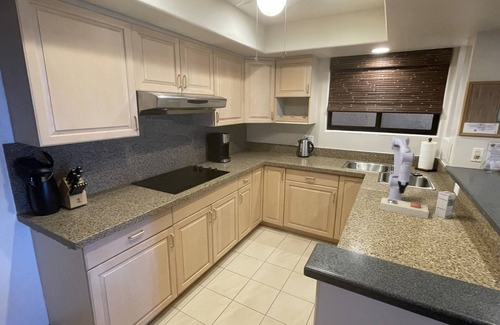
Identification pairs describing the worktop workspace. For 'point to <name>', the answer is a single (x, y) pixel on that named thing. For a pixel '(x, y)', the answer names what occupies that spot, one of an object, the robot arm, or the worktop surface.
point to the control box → (404, 208)
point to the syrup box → (445, 204)
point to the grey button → (392, 201)
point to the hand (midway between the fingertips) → (401, 193)
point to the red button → (415, 205)
